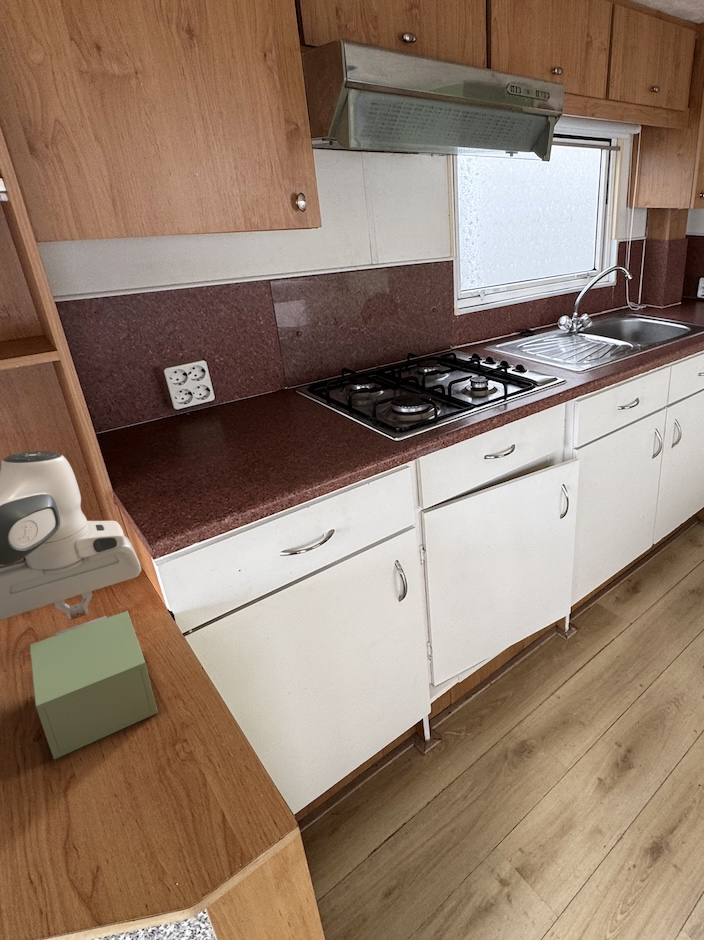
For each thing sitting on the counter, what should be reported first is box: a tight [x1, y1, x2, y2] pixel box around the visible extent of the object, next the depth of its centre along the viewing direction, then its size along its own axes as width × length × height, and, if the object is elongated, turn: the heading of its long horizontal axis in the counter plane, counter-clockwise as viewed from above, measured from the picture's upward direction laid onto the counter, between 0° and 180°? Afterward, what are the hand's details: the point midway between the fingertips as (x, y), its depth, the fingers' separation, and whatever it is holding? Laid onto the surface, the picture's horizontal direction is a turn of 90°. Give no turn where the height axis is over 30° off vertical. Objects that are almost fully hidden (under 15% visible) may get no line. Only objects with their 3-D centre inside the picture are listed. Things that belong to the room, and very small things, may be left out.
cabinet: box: [29, 610, 159, 760], centre depth 86 cm, size 15×13×10 cm
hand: (78, 615), depth 98 cm, fingers closed
